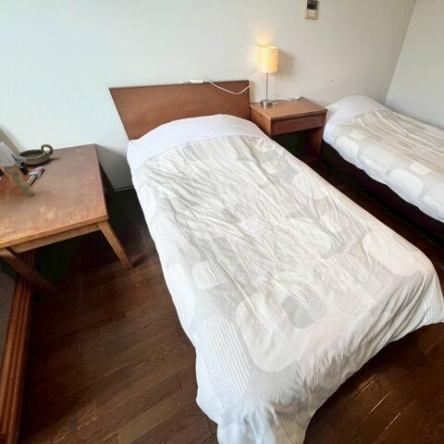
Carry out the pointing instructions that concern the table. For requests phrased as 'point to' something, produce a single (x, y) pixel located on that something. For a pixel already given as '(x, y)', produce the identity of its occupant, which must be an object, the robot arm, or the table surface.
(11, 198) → the table surface
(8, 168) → the stick
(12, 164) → the robot arm
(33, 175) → the paintbrush
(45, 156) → the bowl
